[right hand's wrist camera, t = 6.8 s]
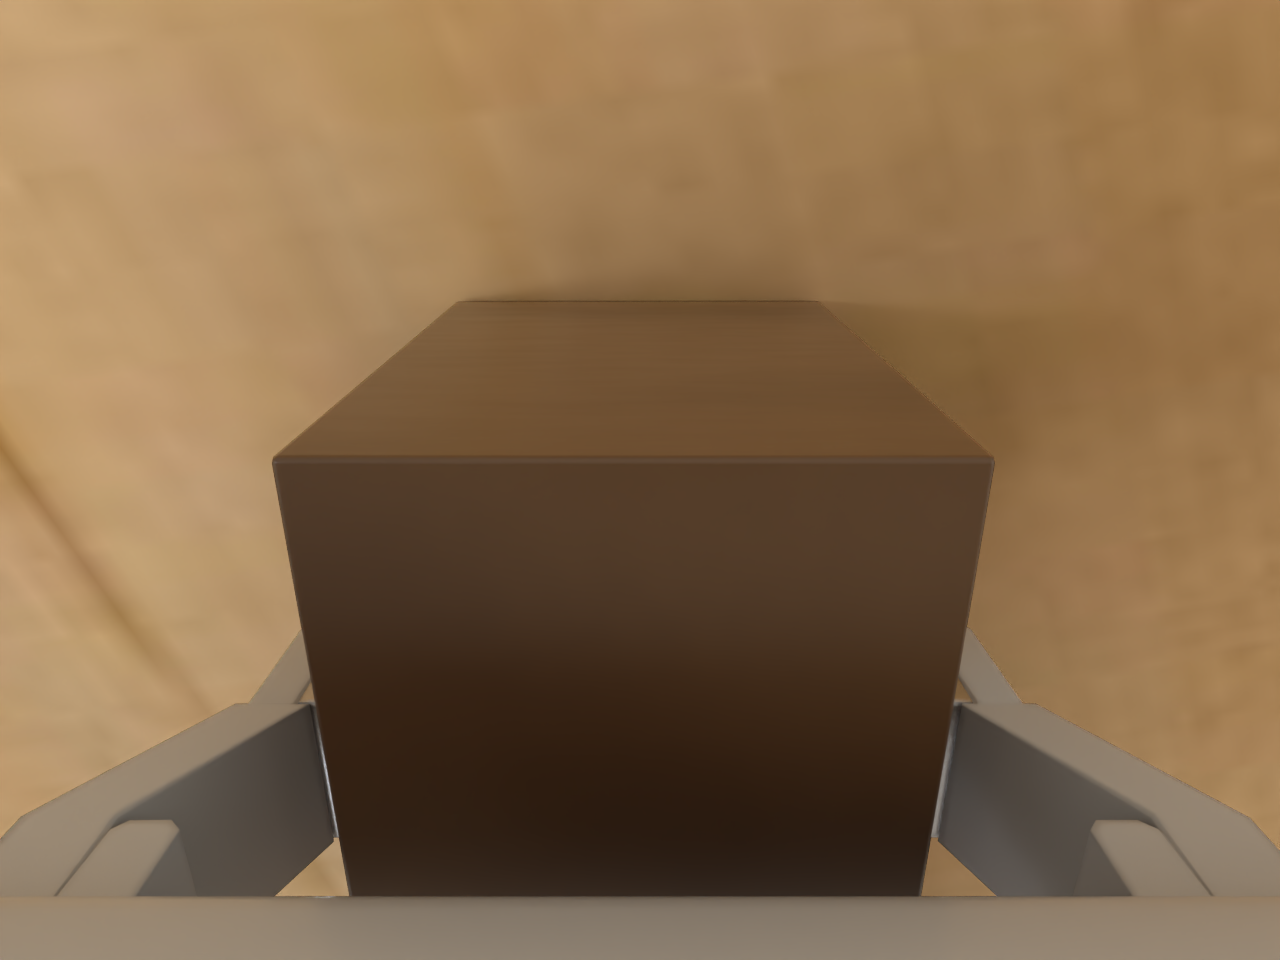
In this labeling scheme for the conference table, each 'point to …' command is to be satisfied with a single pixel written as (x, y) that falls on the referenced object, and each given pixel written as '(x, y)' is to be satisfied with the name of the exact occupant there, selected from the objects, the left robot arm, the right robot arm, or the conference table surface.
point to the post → (634, 604)
